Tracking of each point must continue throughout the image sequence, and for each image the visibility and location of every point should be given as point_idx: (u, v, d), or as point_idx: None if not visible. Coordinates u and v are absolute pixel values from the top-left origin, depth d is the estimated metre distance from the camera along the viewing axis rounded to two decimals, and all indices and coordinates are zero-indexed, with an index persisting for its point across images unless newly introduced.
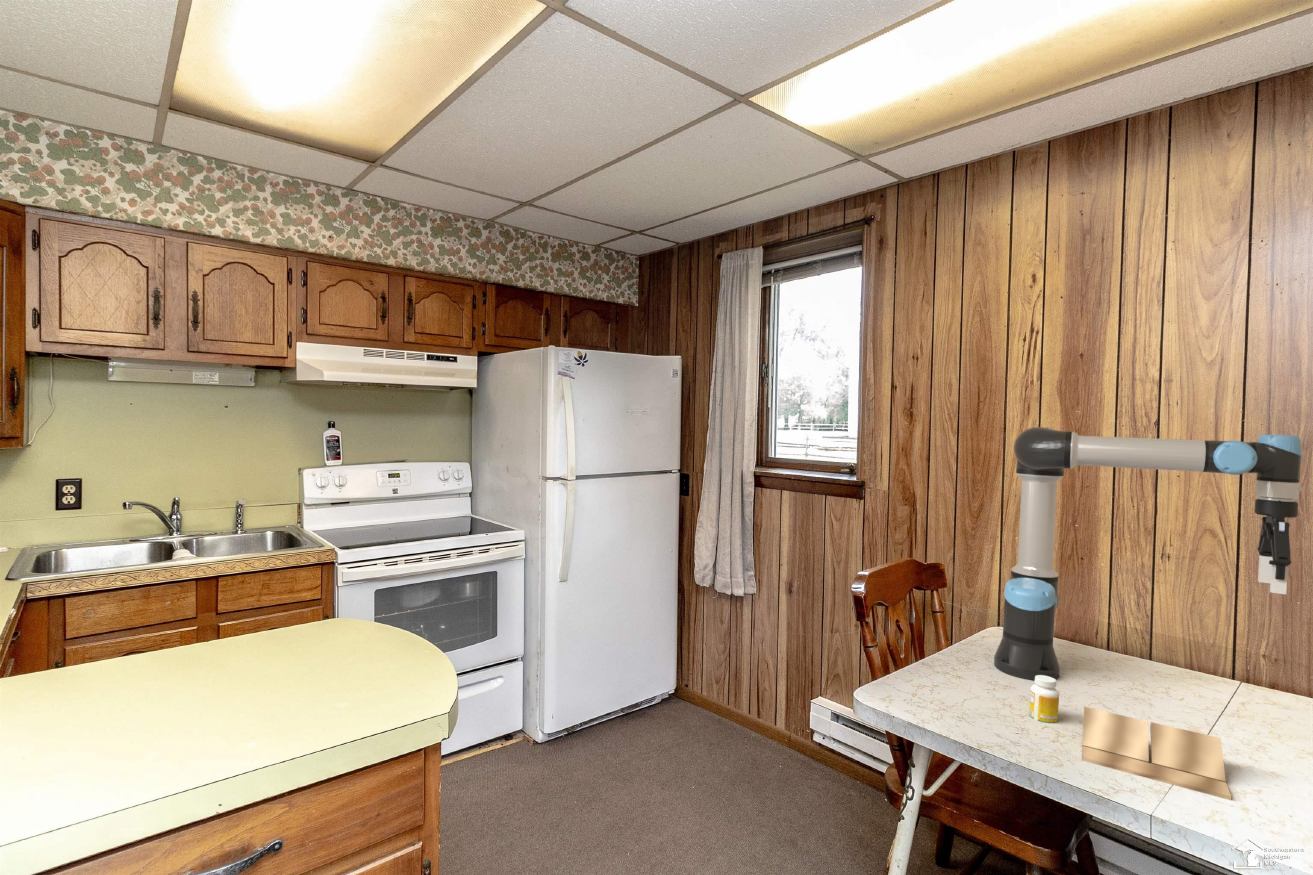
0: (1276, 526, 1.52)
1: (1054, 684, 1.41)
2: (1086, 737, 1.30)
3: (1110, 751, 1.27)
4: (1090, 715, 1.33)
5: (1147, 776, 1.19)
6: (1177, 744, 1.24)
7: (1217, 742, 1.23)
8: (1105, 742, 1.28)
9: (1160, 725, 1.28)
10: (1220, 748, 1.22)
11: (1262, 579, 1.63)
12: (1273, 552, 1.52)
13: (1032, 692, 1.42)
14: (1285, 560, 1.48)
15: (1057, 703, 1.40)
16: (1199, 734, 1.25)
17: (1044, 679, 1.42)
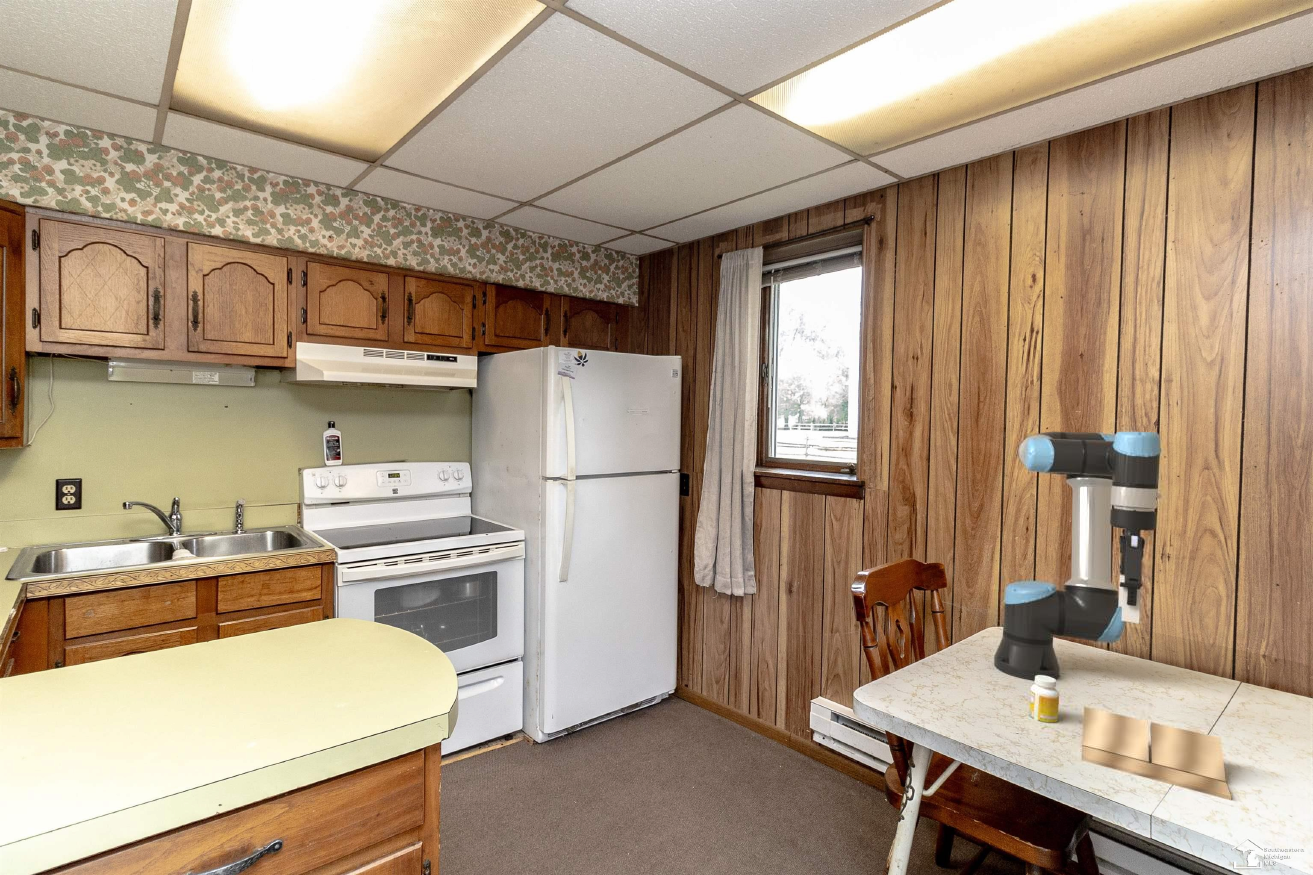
0: (1128, 541, 1.26)
1: (1054, 684, 1.41)
2: (1086, 737, 1.30)
3: (1110, 751, 1.27)
4: (1090, 715, 1.33)
5: (1147, 776, 1.19)
6: (1177, 744, 1.24)
7: (1217, 742, 1.23)
8: (1105, 742, 1.28)
9: (1160, 725, 1.28)
10: (1220, 748, 1.22)
11: None
12: (1125, 572, 1.26)
13: (1032, 692, 1.42)
14: (1135, 582, 1.23)
15: (1057, 703, 1.40)
16: (1199, 734, 1.25)
17: (1044, 679, 1.42)
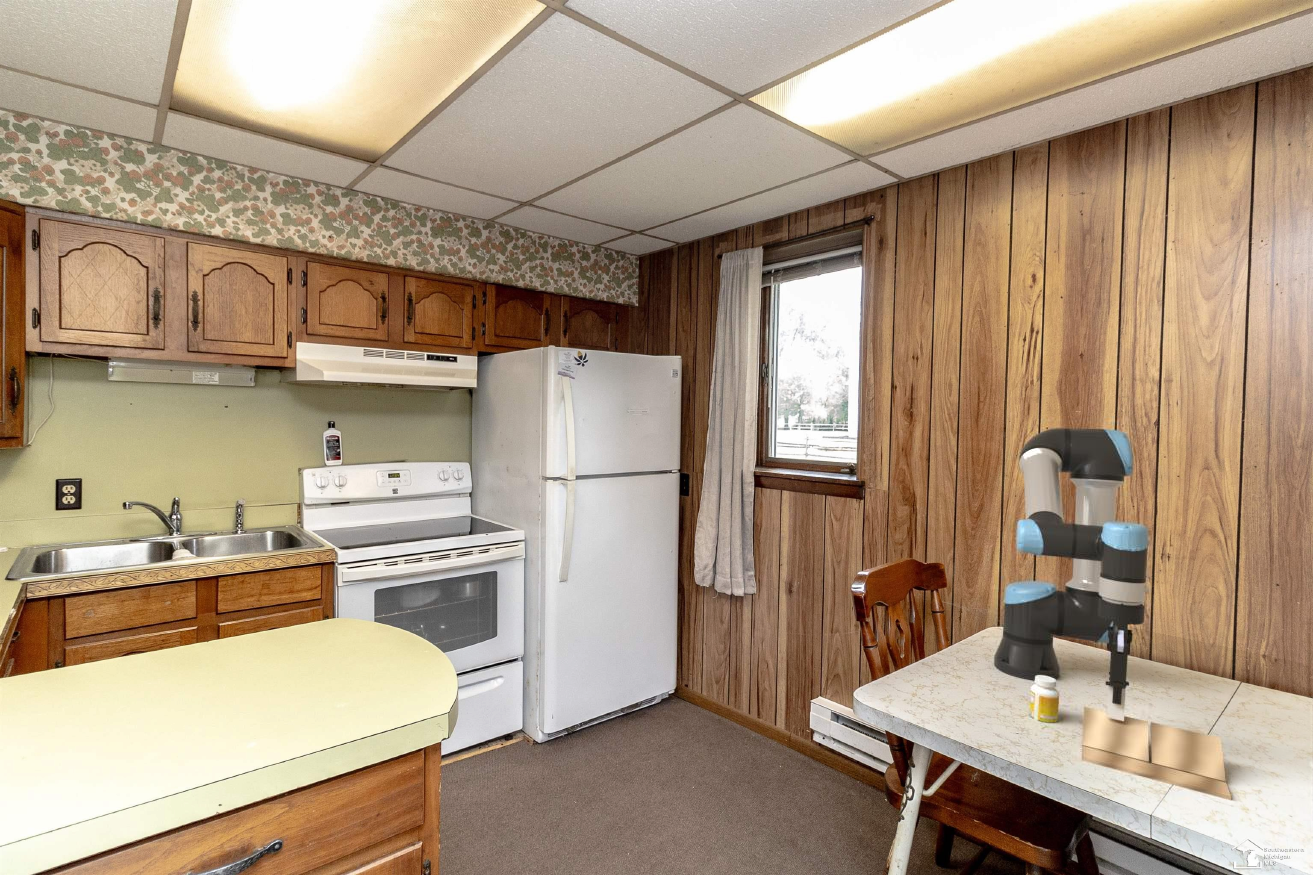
0: (1114, 648, 1.26)
1: (1054, 684, 1.41)
2: (1085, 737, 1.30)
3: (1110, 751, 1.27)
4: (1090, 715, 1.33)
5: (1147, 776, 1.19)
6: (1177, 744, 1.24)
7: (1217, 742, 1.23)
8: (1105, 742, 1.28)
9: (1160, 725, 1.28)
10: (1220, 748, 1.22)
11: None
12: None
13: (1032, 692, 1.42)
14: (1120, 685, 1.28)
15: (1057, 703, 1.40)
16: (1199, 734, 1.25)
17: (1044, 679, 1.42)
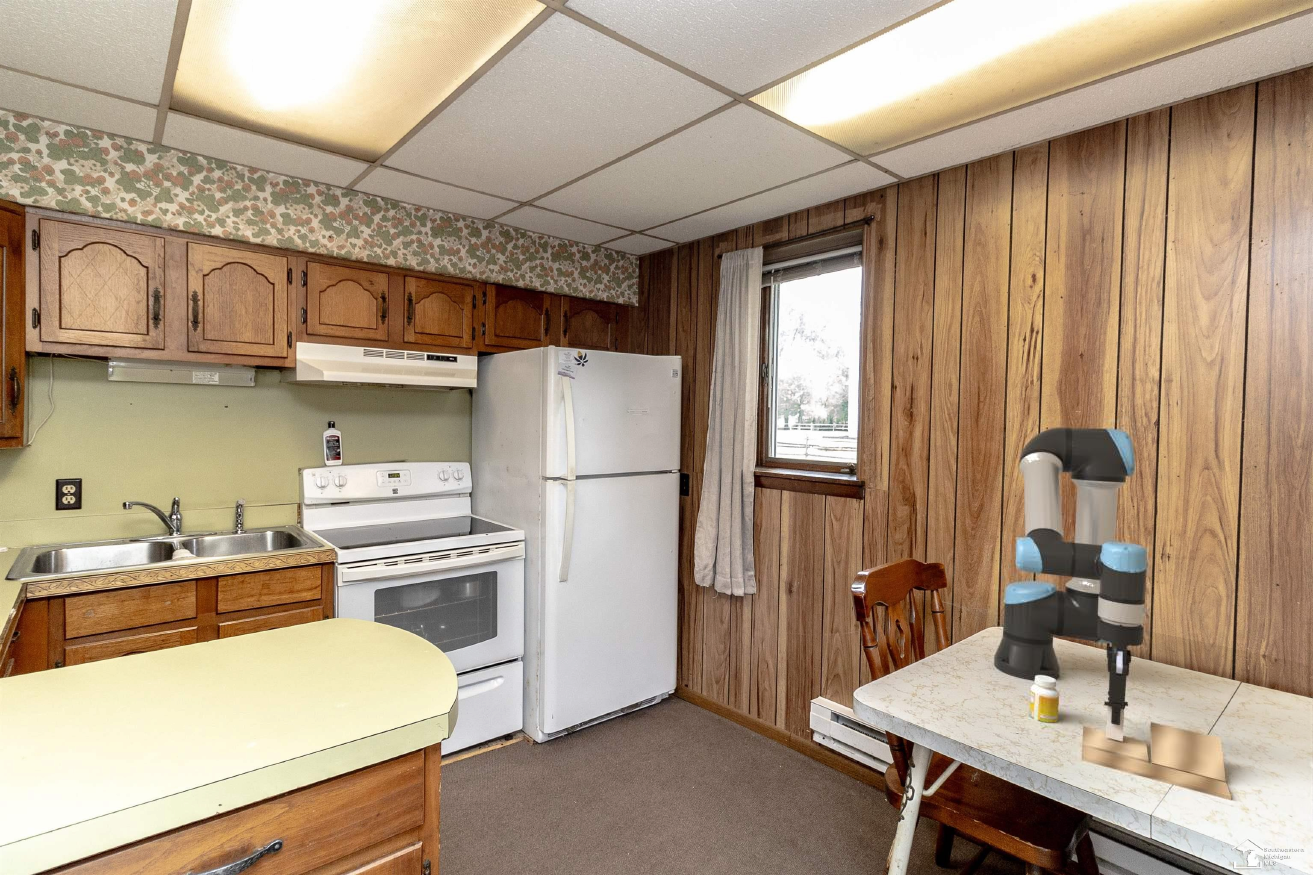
0: (1113, 669, 1.27)
1: (1054, 684, 1.41)
2: (1085, 740, 1.31)
3: (1110, 751, 1.27)
4: (1089, 730, 1.35)
5: (1147, 776, 1.19)
6: (1177, 744, 1.24)
7: (1217, 742, 1.23)
8: (1105, 745, 1.29)
9: (1160, 725, 1.28)
10: (1220, 748, 1.22)
11: None
12: (1110, 692, 1.30)
13: (1032, 692, 1.42)
14: (1119, 706, 1.28)
15: (1057, 703, 1.40)
16: (1199, 734, 1.25)
17: (1044, 679, 1.42)
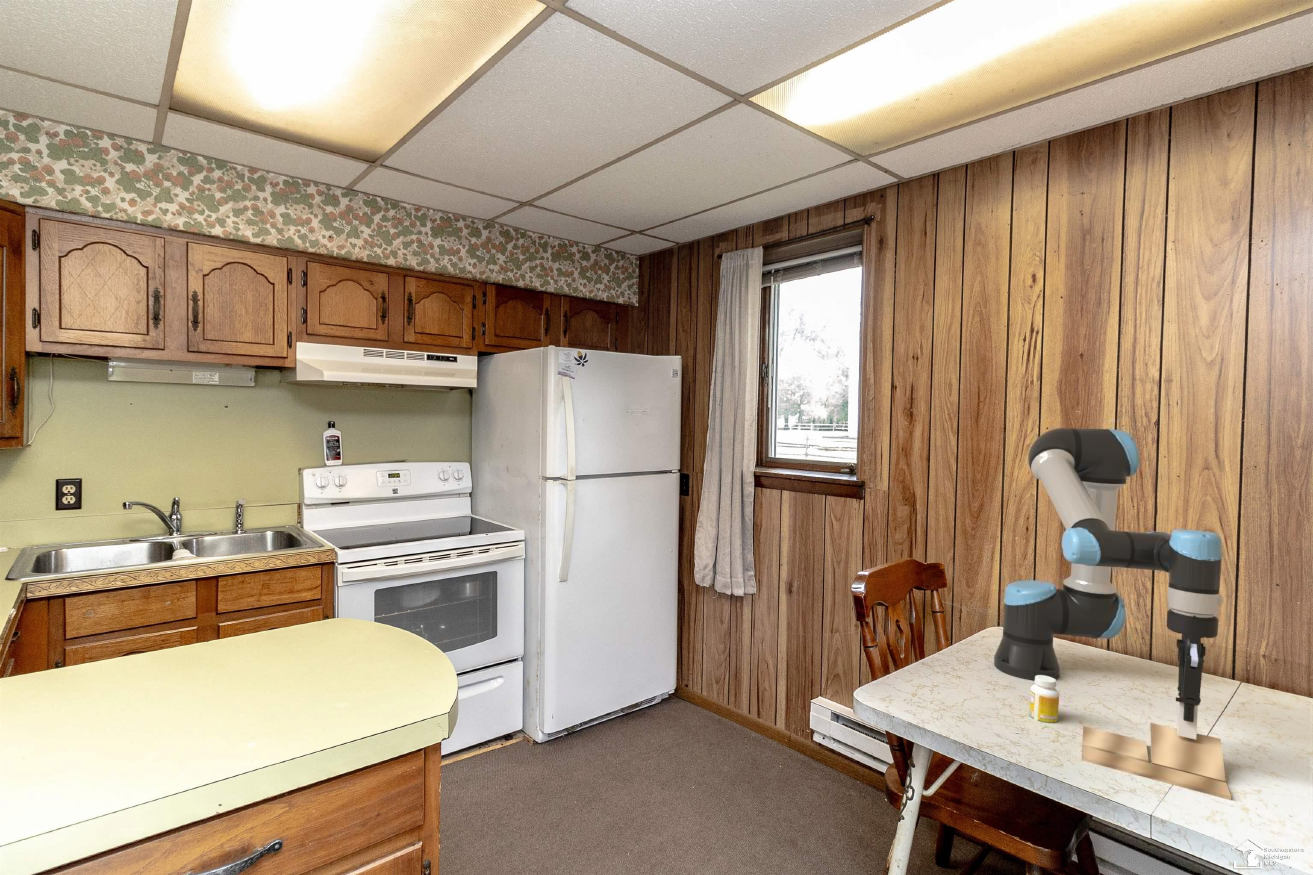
0: (1187, 662, 1.20)
1: (1054, 684, 1.41)
2: (1085, 740, 1.31)
3: (1110, 751, 1.27)
4: (1089, 730, 1.35)
5: (1147, 776, 1.19)
6: (1177, 745, 1.24)
7: (1217, 743, 1.23)
8: (1105, 745, 1.29)
9: (1160, 726, 1.28)
10: (1220, 749, 1.22)
11: None
12: (1182, 688, 1.24)
13: (1032, 692, 1.42)
14: (1193, 702, 1.21)
15: (1057, 703, 1.40)
16: (1199, 735, 1.25)
17: (1044, 679, 1.42)
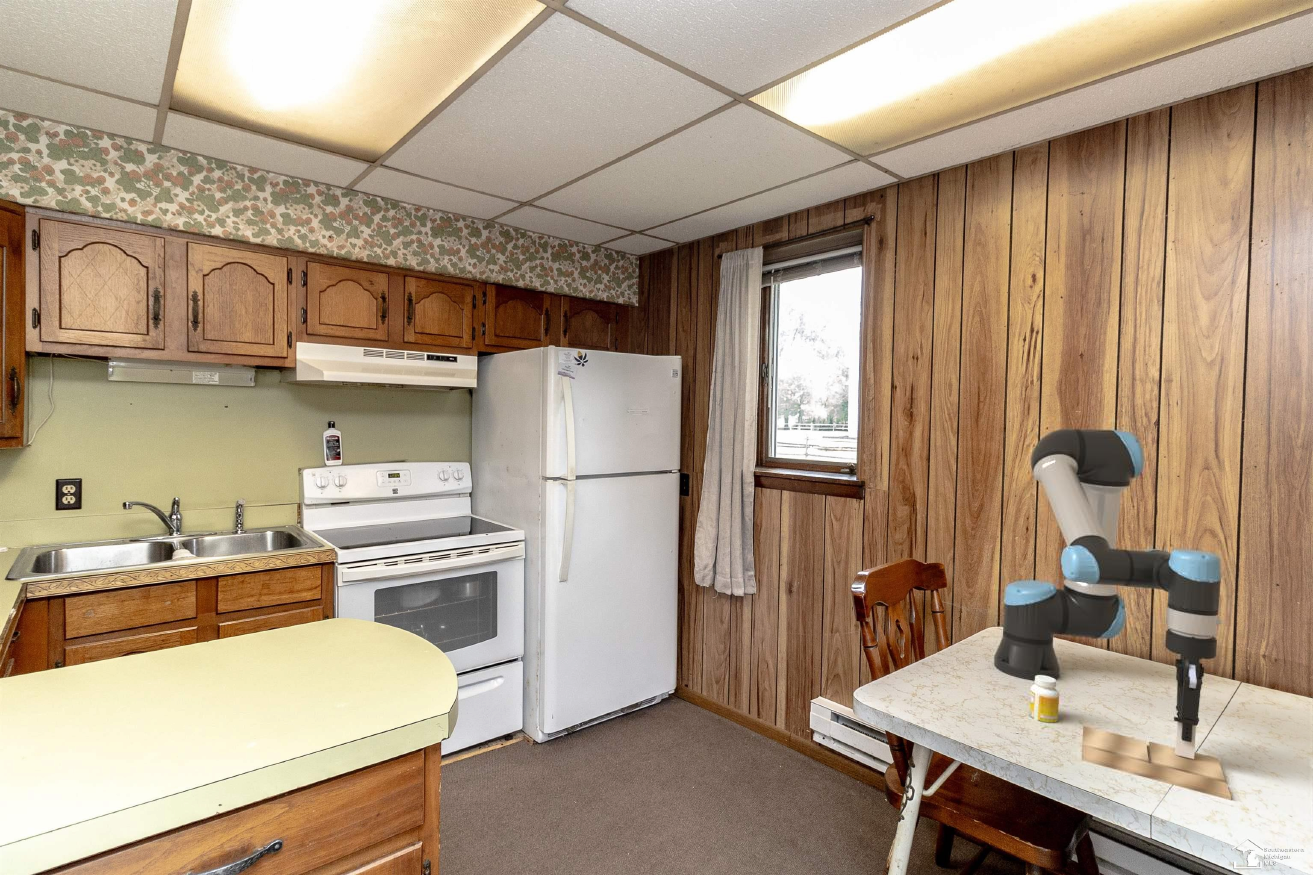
0: (1186, 684, 1.20)
1: (1054, 684, 1.41)
2: (1085, 740, 1.31)
3: (1110, 751, 1.27)
4: (1089, 730, 1.35)
5: (1147, 776, 1.19)
6: (1176, 756, 1.25)
7: (1214, 759, 1.24)
8: (1105, 745, 1.29)
9: (1158, 744, 1.30)
10: (1218, 763, 1.23)
11: None
12: (1180, 708, 1.24)
13: (1032, 692, 1.42)
14: (1191, 722, 1.22)
15: (1057, 703, 1.40)
16: (1197, 753, 1.26)
17: (1044, 679, 1.42)
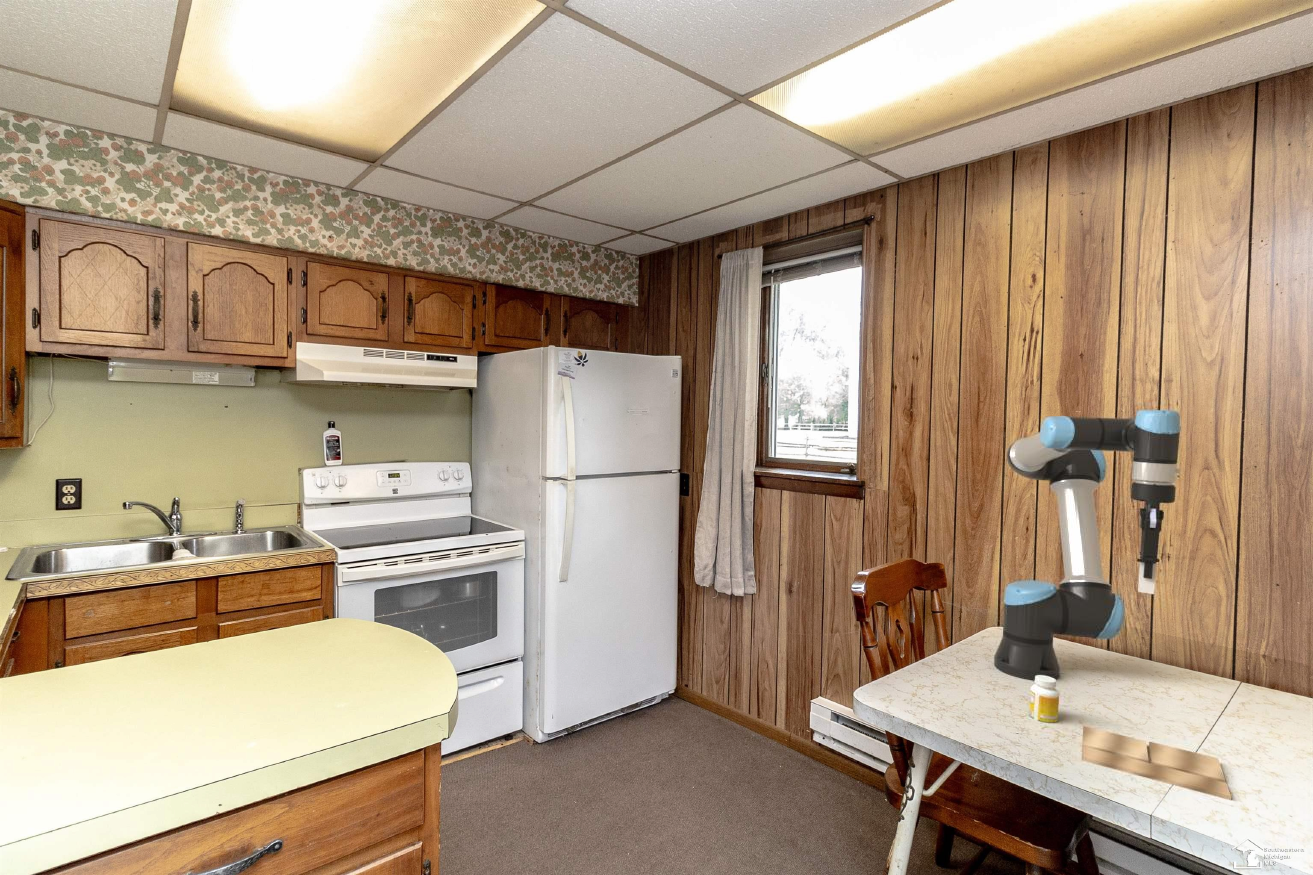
0: (1147, 524, 1.35)
1: (1054, 684, 1.41)
2: (1085, 740, 1.31)
3: (1110, 751, 1.27)
4: (1089, 730, 1.35)
5: (1147, 776, 1.19)
6: (1176, 756, 1.25)
7: (1214, 759, 1.24)
8: (1105, 745, 1.29)
9: (1158, 744, 1.30)
10: (1218, 763, 1.23)
11: None
12: (1142, 549, 1.39)
13: (1032, 692, 1.42)
14: (1151, 559, 1.37)
15: (1057, 703, 1.40)
16: (1197, 753, 1.26)
17: (1044, 679, 1.42)
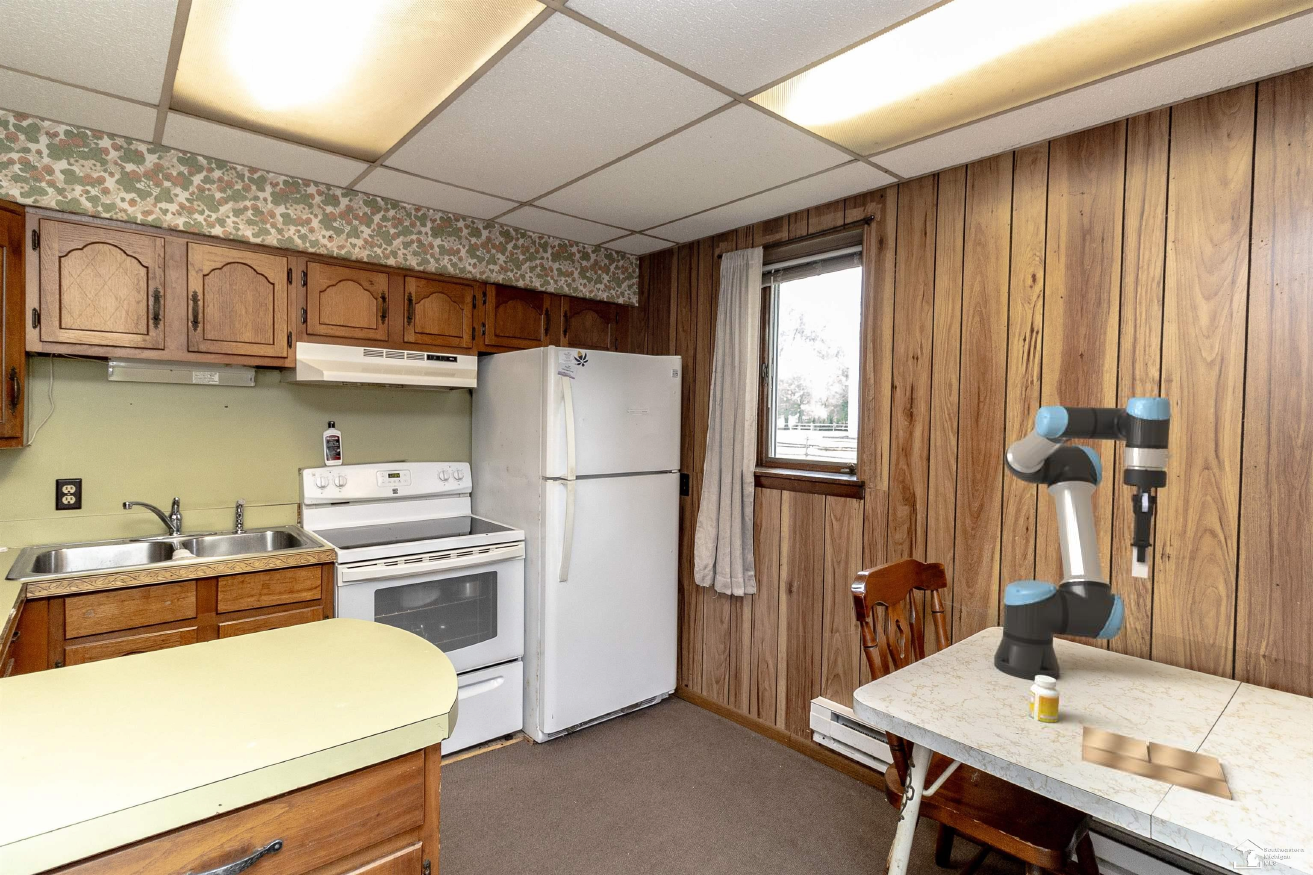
0: (1139, 508, 1.38)
1: (1054, 684, 1.41)
2: (1085, 740, 1.31)
3: (1110, 751, 1.27)
4: (1089, 730, 1.35)
5: (1147, 776, 1.19)
6: (1176, 756, 1.25)
7: (1214, 759, 1.24)
8: (1105, 745, 1.29)
9: (1158, 744, 1.30)
10: (1218, 763, 1.23)
11: None
12: (1135, 533, 1.42)
13: (1032, 692, 1.42)
14: (1144, 543, 1.39)
15: (1057, 703, 1.40)
16: (1197, 753, 1.26)
17: (1044, 679, 1.42)
